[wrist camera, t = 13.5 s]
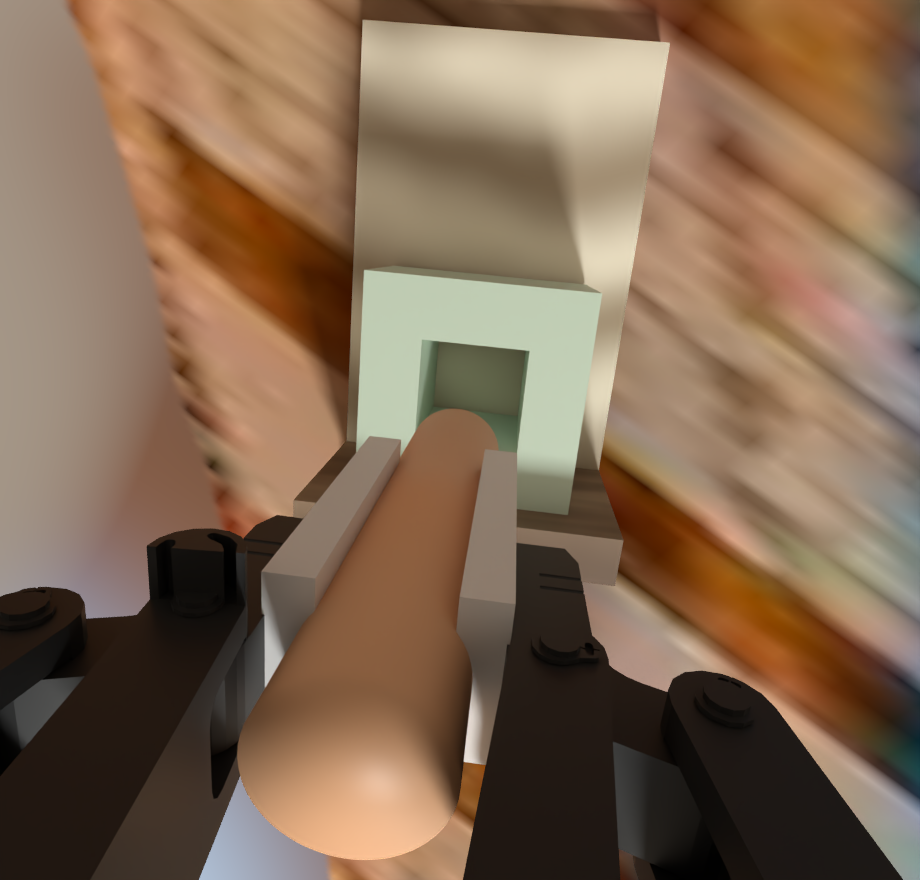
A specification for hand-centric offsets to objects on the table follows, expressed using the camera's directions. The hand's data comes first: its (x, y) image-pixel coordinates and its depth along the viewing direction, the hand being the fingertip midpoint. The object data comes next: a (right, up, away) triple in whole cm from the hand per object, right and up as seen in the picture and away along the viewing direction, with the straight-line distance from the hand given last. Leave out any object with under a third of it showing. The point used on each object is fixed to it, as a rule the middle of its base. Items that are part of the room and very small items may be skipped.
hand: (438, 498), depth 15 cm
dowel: (0, +1, +4) cm, 4 cm away
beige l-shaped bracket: (+2, +9, +16) cm, 19 cm away
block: (+2, +5, +16) cm, 16 cm away
